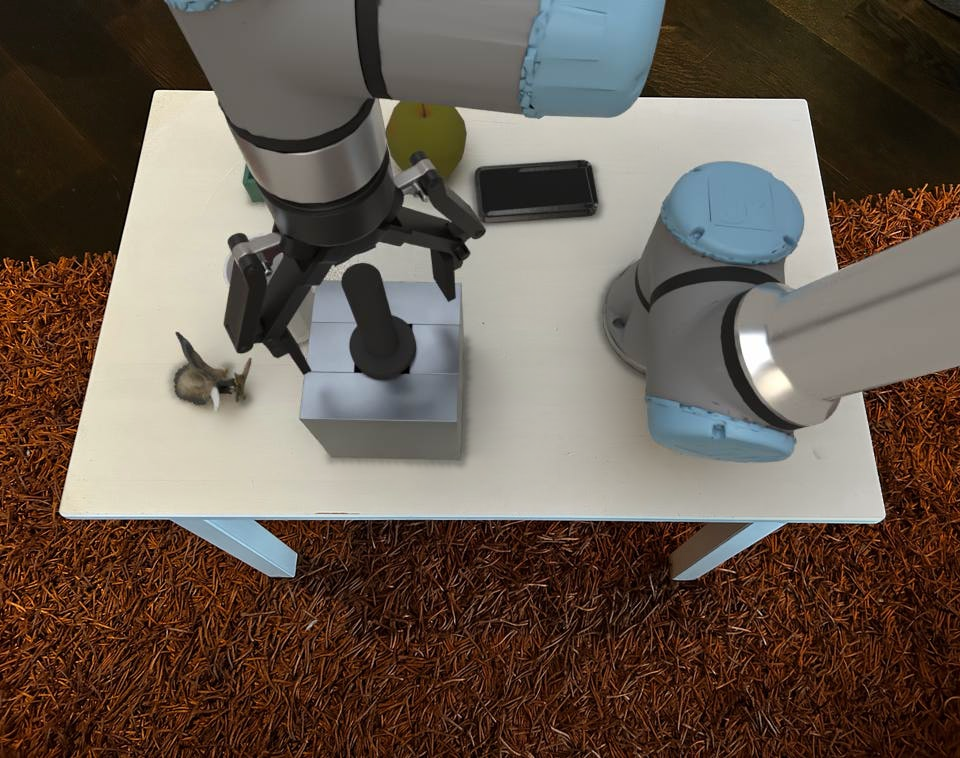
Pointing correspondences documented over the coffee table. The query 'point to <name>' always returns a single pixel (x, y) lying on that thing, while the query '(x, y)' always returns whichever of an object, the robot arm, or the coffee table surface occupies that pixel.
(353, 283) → the plug
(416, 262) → the coffee table surface
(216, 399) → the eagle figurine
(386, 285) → the square hole box
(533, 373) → the coffee table surface
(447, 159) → the apple
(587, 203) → the phone
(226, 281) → the cup
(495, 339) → the coffee table surface
